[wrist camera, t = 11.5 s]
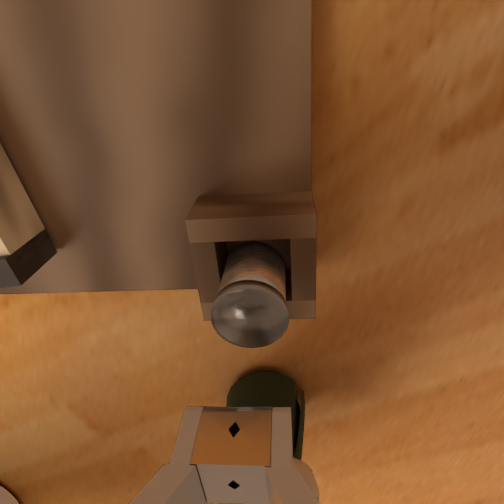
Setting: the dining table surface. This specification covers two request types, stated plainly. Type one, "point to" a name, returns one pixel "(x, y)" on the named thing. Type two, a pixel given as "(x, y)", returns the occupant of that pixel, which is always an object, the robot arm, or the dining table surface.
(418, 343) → the dining table surface
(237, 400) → the character mug
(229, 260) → the leg peg
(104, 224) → the wooden desk organizer
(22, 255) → the folding leg
